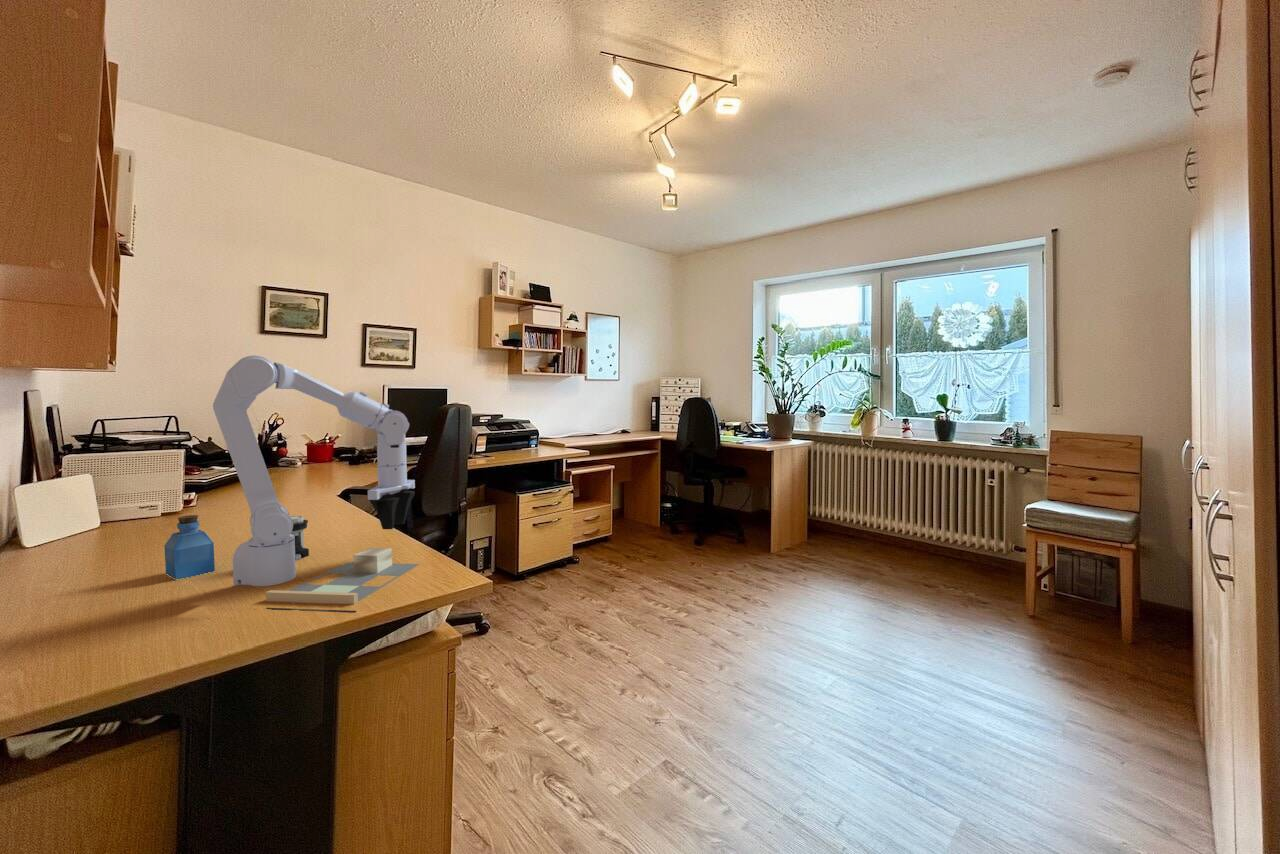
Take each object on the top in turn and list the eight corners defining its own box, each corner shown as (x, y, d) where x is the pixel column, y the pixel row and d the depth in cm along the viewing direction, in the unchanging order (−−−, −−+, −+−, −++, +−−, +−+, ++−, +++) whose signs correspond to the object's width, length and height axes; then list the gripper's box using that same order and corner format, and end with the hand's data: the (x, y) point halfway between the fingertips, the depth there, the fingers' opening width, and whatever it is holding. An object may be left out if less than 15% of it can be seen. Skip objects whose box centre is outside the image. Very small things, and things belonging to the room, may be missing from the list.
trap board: (266, 609, 85) (265, 592, 85) (348, 569, 106) (348, 555, 106) (354, 612, 84) (353, 595, 84) (419, 571, 105) (419, 557, 105)
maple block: (353, 572, 100) (353, 555, 100) (369, 564, 105) (369, 547, 105) (377, 572, 99) (377, 555, 99) (392, 564, 104) (391, 548, 104)
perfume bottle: (214, 571, 105) (212, 515, 104) (176, 580, 100) (173, 521, 99) (203, 566, 108) (201, 512, 108) (165, 574, 103) (163, 517, 103)
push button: (282, 569, 106) (280, 522, 106) (268, 565, 109) (266, 520, 108) (314, 560, 112) (312, 516, 112) (300, 557, 115) (298, 514, 114)
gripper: (390, 469, 101) (391, 535, 102) (426, 461, 115) (428, 519, 116) (357, 469, 102) (359, 534, 102) (397, 460, 116) (399, 518, 117)
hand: (393, 526), depth 109 cm, fingers open, 4 cm apart
